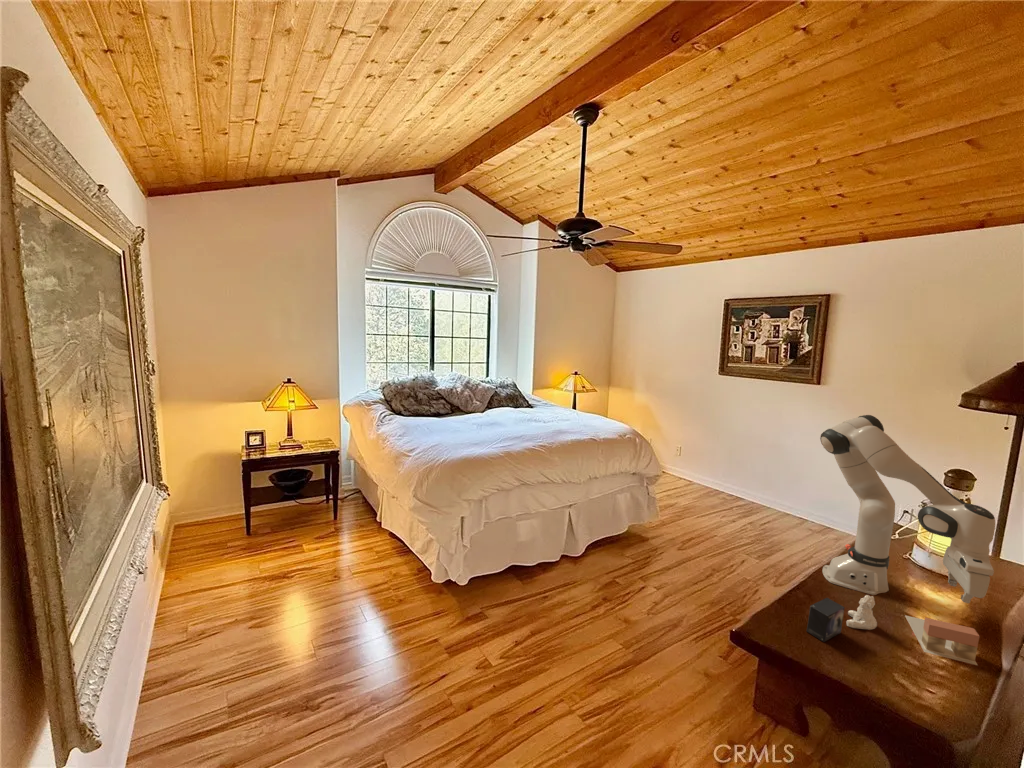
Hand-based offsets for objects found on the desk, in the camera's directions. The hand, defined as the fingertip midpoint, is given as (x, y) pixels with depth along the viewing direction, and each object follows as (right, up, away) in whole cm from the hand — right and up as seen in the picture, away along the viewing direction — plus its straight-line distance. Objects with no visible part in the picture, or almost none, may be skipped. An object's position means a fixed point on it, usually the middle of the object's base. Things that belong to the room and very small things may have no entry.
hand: (958, 592), depth 151 cm
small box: (-36, -20, +13) cm, 43 cm away
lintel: (0, -16, +3) cm, 16 cm away
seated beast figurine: (-19, -19, +17) cm, 32 cm away
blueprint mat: (+2, -20, +9) cm, 22 cm away
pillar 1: (-4, -21, +5) cm, 21 cm away
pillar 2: (+3, -21, +2) cm, 21 cm away
